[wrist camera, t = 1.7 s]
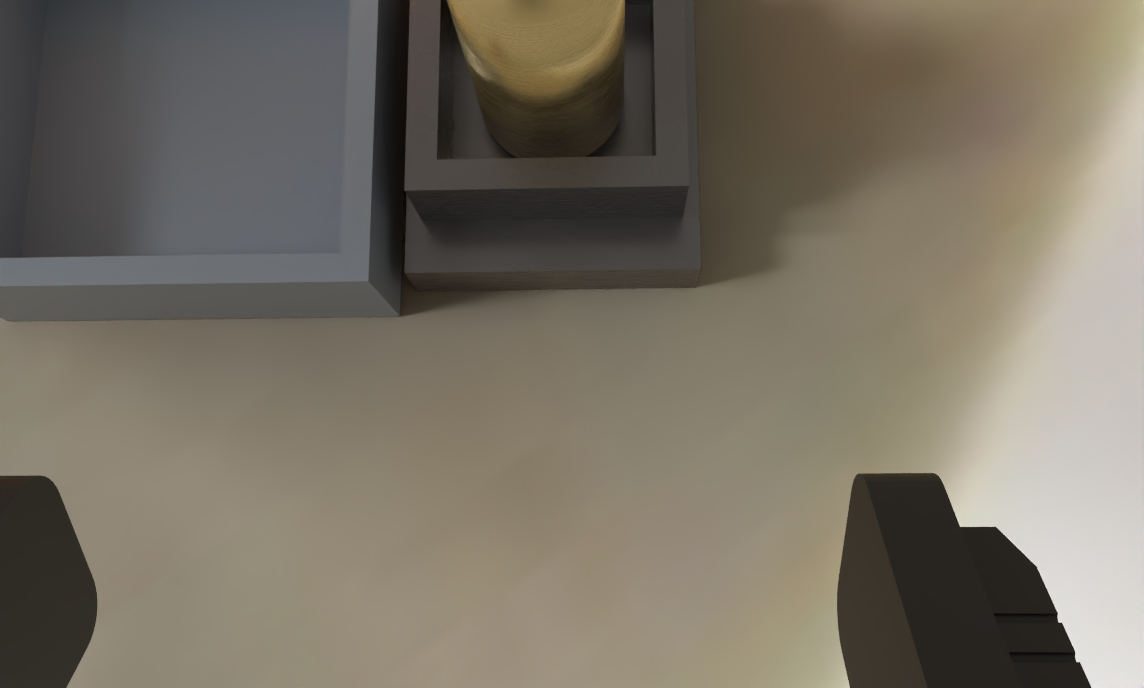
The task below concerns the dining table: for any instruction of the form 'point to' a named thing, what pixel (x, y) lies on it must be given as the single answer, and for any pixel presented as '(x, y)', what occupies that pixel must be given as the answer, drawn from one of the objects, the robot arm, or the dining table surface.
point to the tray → (201, 158)
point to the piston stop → (545, 71)
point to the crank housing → (554, 173)
